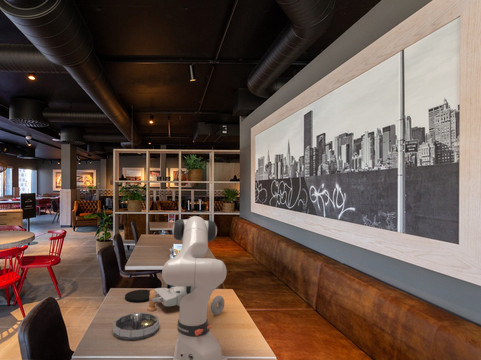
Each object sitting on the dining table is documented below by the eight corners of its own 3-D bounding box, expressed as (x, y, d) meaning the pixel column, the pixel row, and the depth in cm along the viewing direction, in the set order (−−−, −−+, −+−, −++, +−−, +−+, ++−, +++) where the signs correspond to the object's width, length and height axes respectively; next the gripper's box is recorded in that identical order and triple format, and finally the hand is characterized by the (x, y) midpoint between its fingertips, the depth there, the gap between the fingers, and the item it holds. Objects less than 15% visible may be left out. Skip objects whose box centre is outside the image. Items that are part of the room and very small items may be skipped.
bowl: (167, 329, 149) (167, 313, 149) (128, 345, 133) (129, 327, 133) (142, 317, 161) (143, 302, 161) (104, 330, 146) (105, 313, 146)
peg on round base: (158, 309, 172) (159, 291, 172) (150, 312, 168) (151, 293, 168) (153, 307, 175) (153, 288, 175) (145, 309, 171) (146, 291, 171)
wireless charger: (121, 303, 179) (121, 300, 179) (128, 292, 196) (128, 289, 196) (153, 303, 181) (153, 299, 181) (157, 292, 199) (157, 289, 199)
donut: (214, 318, 163) (214, 299, 163) (208, 317, 165) (209, 297, 165) (225, 312, 171) (226, 294, 171) (220, 311, 173) (221, 292, 173)
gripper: (168, 283, 187) (145, 287, 180) (182, 294, 170) (156, 298, 163) (168, 294, 187) (145, 298, 180) (181, 306, 170) (156, 311, 162)
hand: (150, 298), depth 171 cm, fingers closed on peg on round base, 3 cm apart
